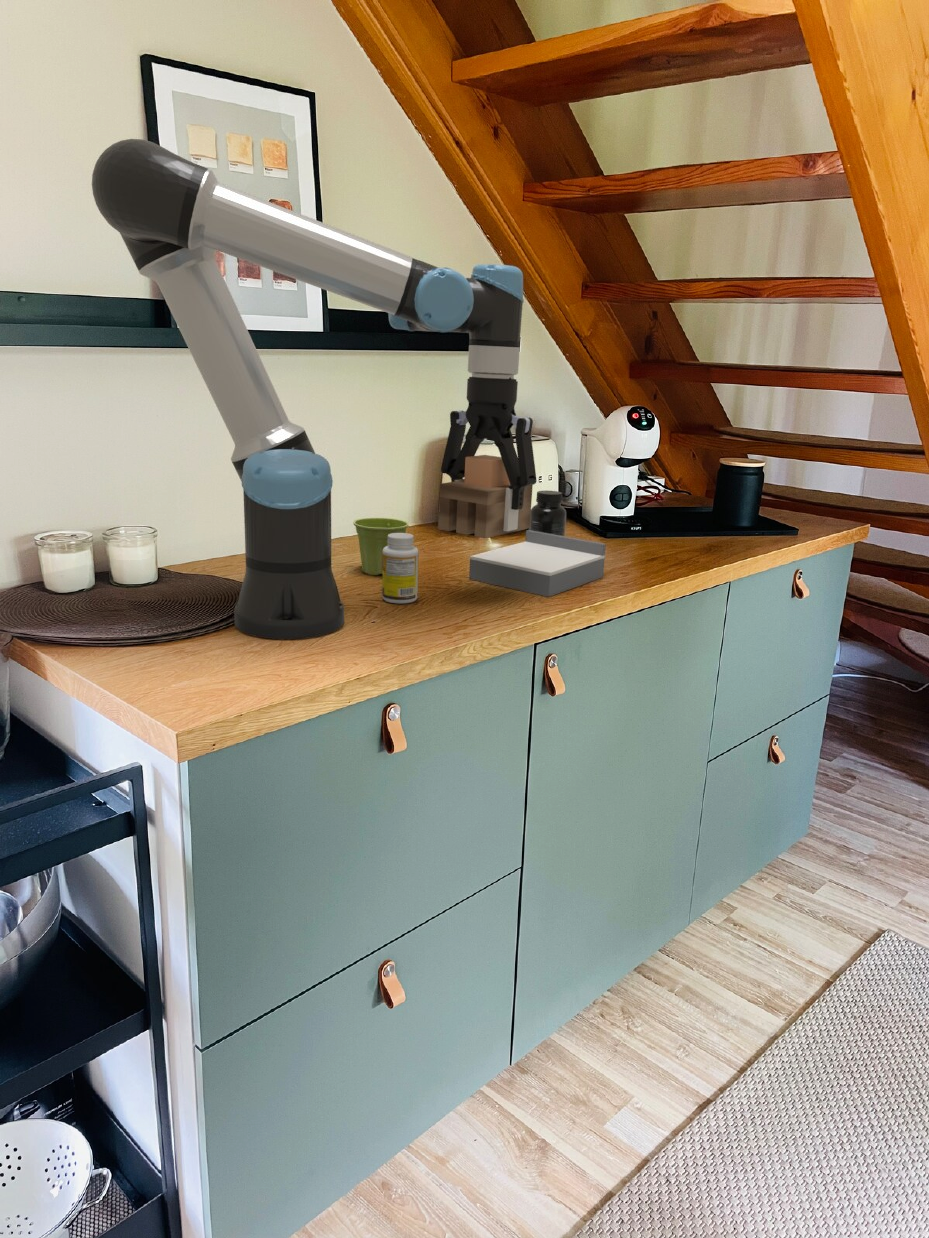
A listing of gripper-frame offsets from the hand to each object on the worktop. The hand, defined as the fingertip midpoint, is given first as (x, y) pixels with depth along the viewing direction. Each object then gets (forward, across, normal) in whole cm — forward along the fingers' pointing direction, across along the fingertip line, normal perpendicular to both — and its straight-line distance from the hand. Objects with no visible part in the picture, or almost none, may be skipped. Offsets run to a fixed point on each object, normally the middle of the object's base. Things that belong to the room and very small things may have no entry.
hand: (484, 525), depth 143 cm
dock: (+11, 0, -16) cm, 20 cm away
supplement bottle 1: (+12, +8, +11) cm, 18 cm away
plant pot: (+12, +22, 0) cm, 25 cm away
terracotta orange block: (-6, 0, 0) cm, 6 cm away
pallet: (+1, 0, 0) cm, 1 cm away
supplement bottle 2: (+12, +9, -33) cm, 36 cm away
